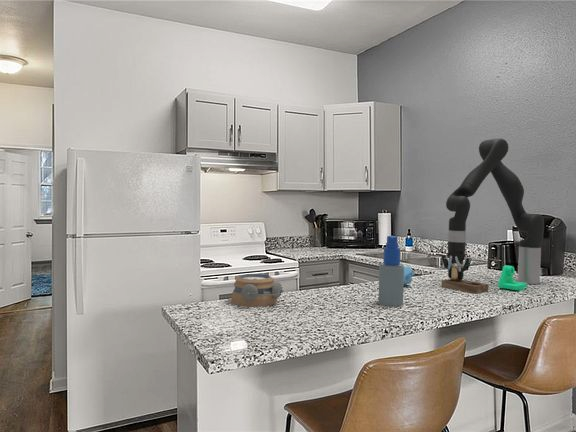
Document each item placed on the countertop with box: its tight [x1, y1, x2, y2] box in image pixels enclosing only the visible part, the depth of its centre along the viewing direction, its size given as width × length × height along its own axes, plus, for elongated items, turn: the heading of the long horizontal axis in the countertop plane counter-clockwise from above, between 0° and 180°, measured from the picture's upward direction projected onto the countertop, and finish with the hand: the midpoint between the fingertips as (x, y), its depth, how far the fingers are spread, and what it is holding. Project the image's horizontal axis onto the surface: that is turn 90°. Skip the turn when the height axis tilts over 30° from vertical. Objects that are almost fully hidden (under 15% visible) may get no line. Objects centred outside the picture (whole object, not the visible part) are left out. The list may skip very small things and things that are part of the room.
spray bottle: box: [377, 235, 405, 308], centre depth 155 cm, size 9×9×25 cm
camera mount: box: [497, 264, 528, 292], centre depth 187 cm, size 12×8×10 cm, turn 129°
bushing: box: [451, 266, 460, 282], centre depth 187 cm, size 4×4×8 cm
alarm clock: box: [230, 273, 285, 308], centre depth 152 cm, size 17×9×23 cm
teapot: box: [381, 262, 416, 287], centre depth 190 cm, size 18×14×10 cm
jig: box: [441, 278, 489, 295], centre depth 184 cm, size 10×16×3 cm, turn 36°
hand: (455, 278), depth 188 cm, fingers open, 4 cm apart
